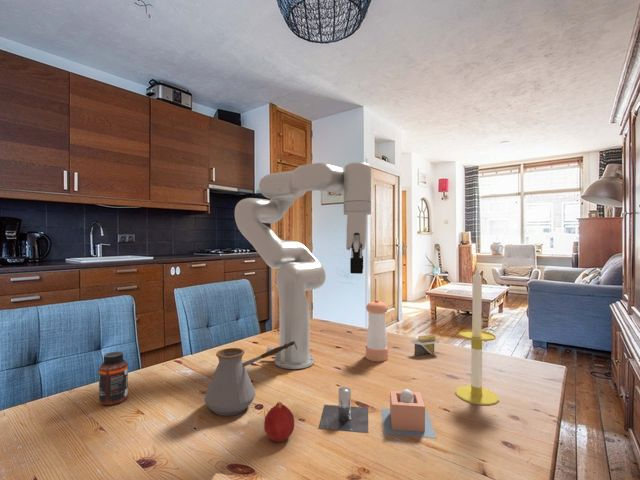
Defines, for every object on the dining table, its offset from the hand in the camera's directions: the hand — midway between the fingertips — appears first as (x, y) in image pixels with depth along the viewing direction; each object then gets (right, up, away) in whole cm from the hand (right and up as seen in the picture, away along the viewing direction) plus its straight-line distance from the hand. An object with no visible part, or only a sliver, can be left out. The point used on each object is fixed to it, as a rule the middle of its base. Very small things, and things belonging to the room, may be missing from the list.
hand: (357, 271), depth 93 cm
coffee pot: (-26, -31, -13) cm, 42 cm away
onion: (-18, -31, -28) cm, 45 cm away
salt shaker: (+9, -30, +19) cm, 37 cm away
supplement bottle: (-60, -31, -11) cm, 68 cm away
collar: (+8, -29, -22) cm, 38 cm away
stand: (-5, -30, -20) cm, 37 cm away
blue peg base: (+8, -30, -22) cm, 38 cm away
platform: (+26, -31, +23) cm, 46 cm away
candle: (+29, -31, -8) cm, 43 cm away
